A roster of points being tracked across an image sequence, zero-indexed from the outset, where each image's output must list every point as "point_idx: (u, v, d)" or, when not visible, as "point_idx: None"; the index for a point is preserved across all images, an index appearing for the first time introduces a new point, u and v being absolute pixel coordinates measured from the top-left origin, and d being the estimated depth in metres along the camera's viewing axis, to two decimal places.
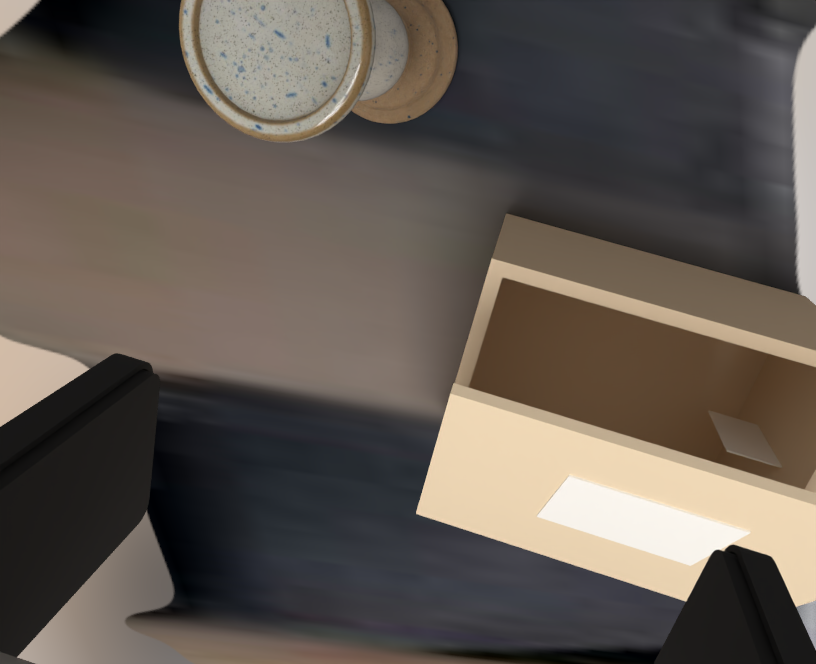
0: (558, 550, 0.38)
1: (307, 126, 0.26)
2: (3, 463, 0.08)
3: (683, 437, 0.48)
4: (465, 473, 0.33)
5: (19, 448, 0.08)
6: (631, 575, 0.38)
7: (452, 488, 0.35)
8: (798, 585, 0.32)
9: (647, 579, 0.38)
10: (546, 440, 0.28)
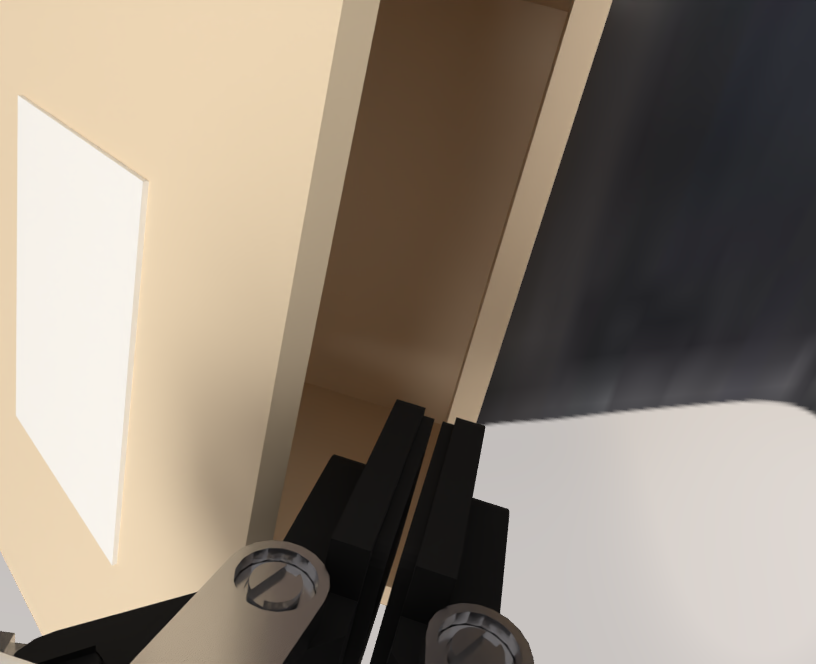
0: None
1: None
2: (385, 514, 0.09)
3: None
4: None
5: (387, 499, 0.09)
6: None
7: None
8: (38, 586, 0.18)
9: None
10: (248, 112, 0.09)
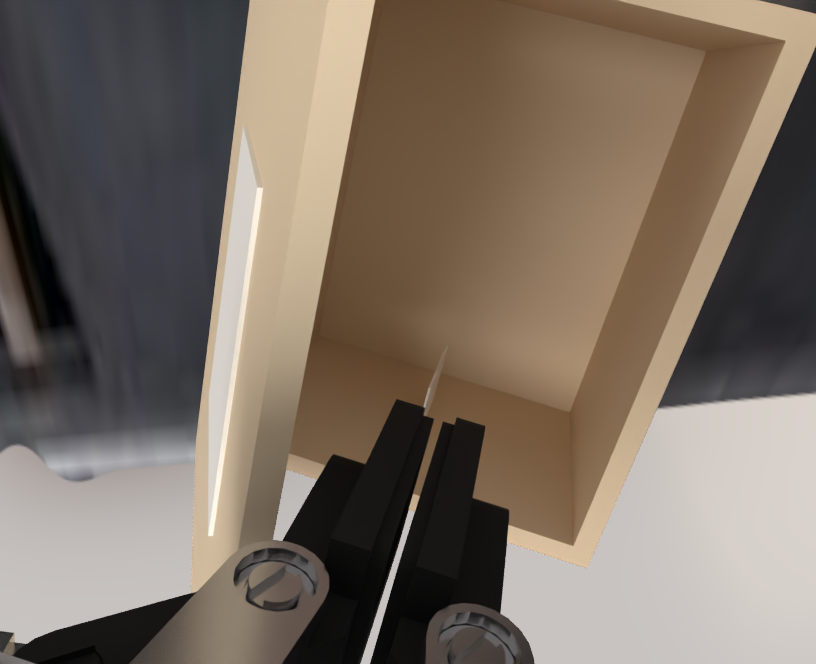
0: (231, 173, 0.22)
1: None
2: (384, 514, 0.09)
3: (387, 308, 0.36)
4: None
5: (386, 499, 0.09)
6: (216, 293, 0.24)
7: None
8: (196, 548, 0.21)
9: (213, 317, 0.24)
10: (292, 116, 0.09)
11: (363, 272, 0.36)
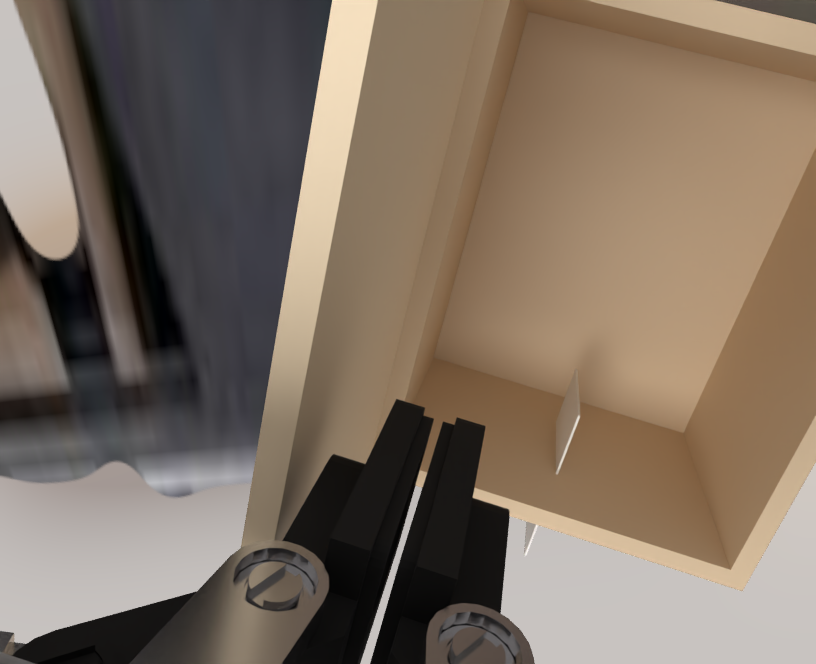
0: None
1: None
2: (384, 514, 0.09)
3: (505, 332, 0.37)
4: None
5: (386, 499, 0.09)
6: None
7: None
8: None
9: None
10: None
11: (483, 297, 0.37)
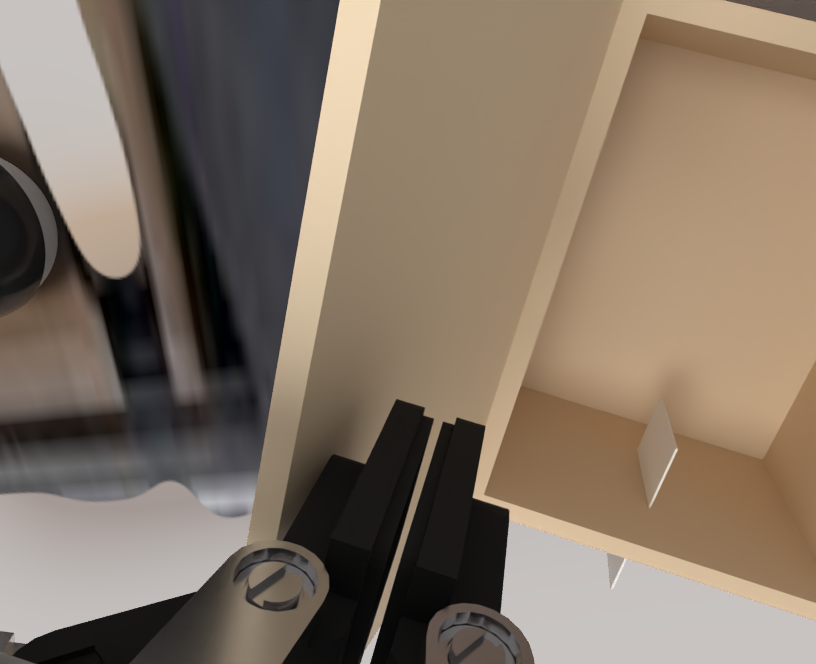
0: None
1: None
2: (385, 514, 0.09)
3: (580, 356, 0.37)
4: None
5: (386, 499, 0.09)
6: None
7: None
8: None
9: None
10: None
11: (559, 320, 0.36)
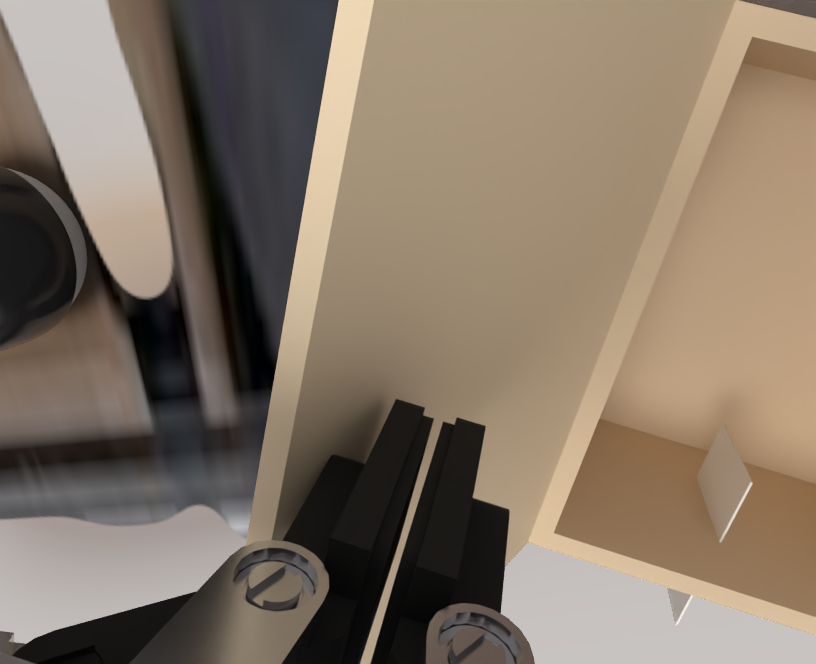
0: None
1: None
2: (384, 514, 0.09)
3: (633, 380, 0.35)
4: None
5: (386, 499, 0.09)
6: None
7: None
8: None
9: None
10: None
11: None
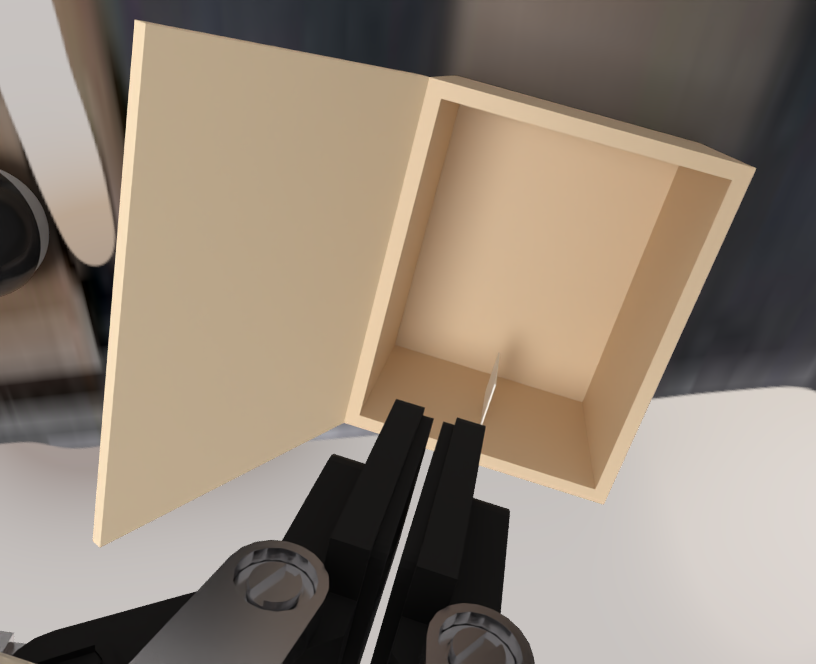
0: None
1: None
2: (384, 514, 0.09)
3: (448, 325, 0.49)
4: None
5: (386, 499, 0.09)
6: None
7: None
8: None
9: None
10: None
11: (432, 298, 0.49)
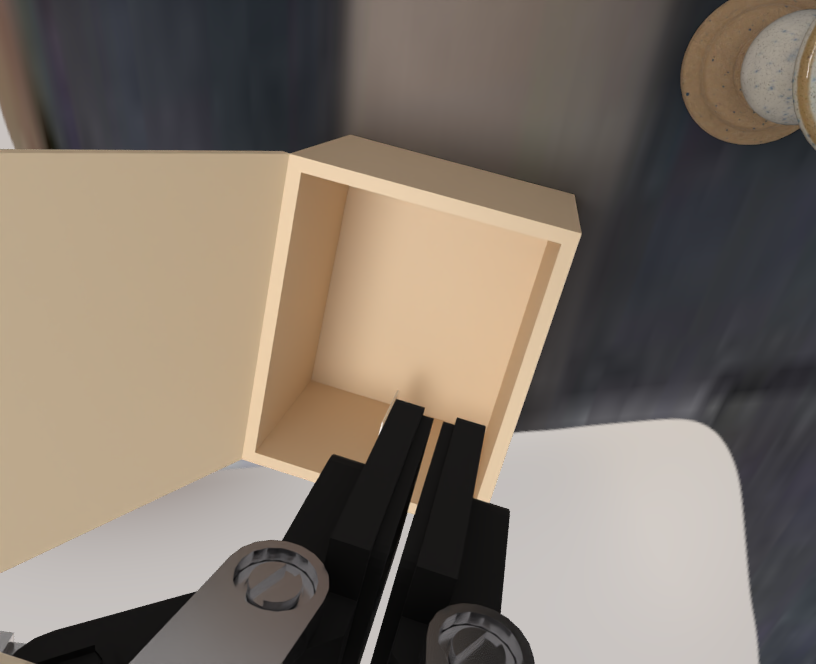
0: None
1: (814, 106, 0.24)
2: (384, 514, 0.09)
3: (358, 362, 0.53)
4: None
5: (386, 499, 0.09)
6: None
7: None
8: None
9: None
10: None
11: (342, 337, 0.52)
